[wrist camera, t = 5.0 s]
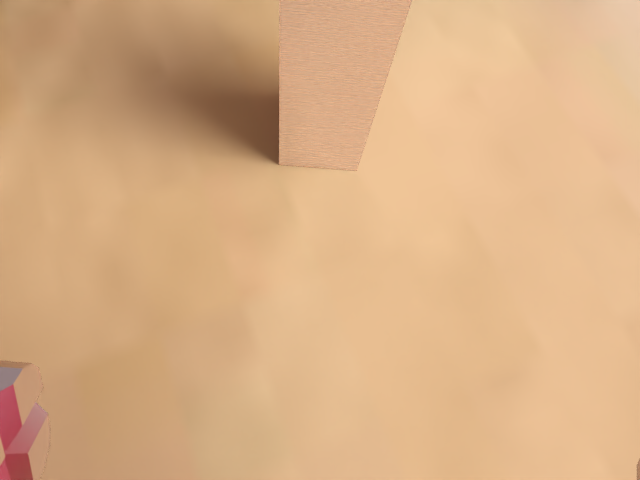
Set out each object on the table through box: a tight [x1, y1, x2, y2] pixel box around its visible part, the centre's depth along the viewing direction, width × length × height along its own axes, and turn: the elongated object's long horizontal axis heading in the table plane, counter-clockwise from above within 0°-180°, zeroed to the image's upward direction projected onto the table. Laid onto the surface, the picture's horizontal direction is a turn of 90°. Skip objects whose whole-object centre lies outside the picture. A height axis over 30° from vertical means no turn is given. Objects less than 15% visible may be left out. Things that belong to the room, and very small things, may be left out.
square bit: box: [279, 0, 412, 171], centre depth 21 cm, size 3×3×12 cm
